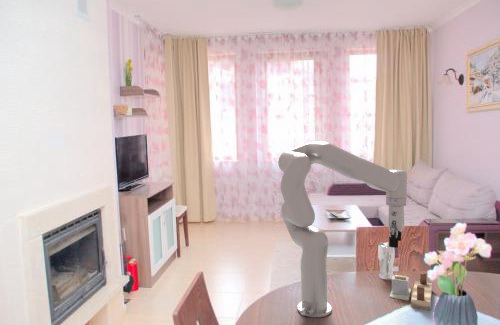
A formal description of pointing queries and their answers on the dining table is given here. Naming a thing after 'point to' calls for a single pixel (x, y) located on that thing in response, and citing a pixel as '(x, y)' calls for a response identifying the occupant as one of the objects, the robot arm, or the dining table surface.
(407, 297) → the mat
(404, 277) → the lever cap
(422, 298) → the body
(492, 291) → the dining table surface
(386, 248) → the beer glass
